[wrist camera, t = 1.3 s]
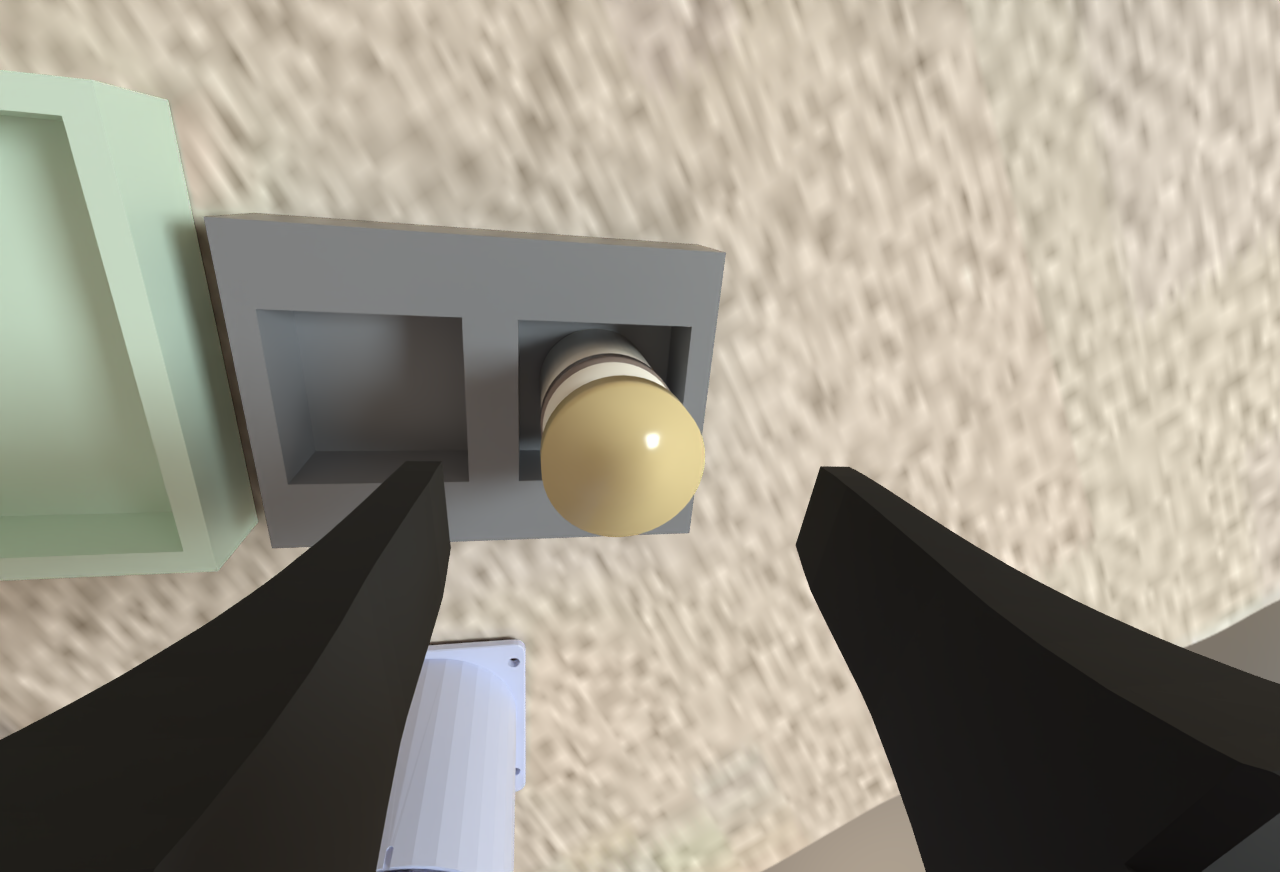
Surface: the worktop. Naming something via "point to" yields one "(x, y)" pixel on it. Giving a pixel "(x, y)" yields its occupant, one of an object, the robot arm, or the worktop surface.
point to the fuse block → (436, 356)
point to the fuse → (614, 437)
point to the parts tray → (107, 345)
